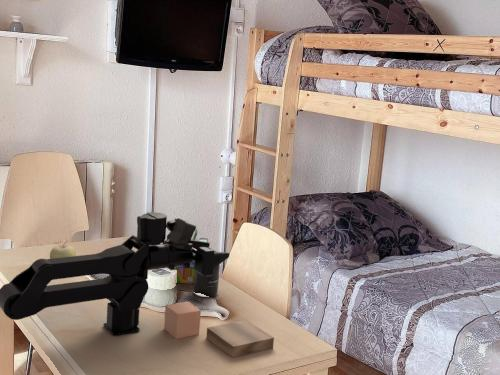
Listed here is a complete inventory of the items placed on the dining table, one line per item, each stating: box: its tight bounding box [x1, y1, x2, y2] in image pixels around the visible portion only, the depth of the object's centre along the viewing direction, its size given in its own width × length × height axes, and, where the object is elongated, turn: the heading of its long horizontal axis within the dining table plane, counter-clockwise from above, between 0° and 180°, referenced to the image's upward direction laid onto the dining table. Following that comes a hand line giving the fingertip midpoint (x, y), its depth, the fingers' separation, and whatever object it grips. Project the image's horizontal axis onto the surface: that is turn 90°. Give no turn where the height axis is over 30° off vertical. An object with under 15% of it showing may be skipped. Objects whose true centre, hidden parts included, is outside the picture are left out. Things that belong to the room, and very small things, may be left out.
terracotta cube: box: [163, 301, 202, 340], centre depth 150 cm, size 6×6×6 cm
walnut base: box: [205, 319, 275, 358], centre depth 146 cm, size 11×11×2 cm
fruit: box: [49, 242, 77, 259], centre depth 186 cm, size 8×7×8 cm
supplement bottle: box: [192, 250, 221, 298], centre depth 175 cm, size 7×7×12 cm
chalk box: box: [174, 228, 209, 285], centre depth 185 cm, size 9×9×15 cm
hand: (218, 249), depth 160 cm, fingers open, 9 cm apart
